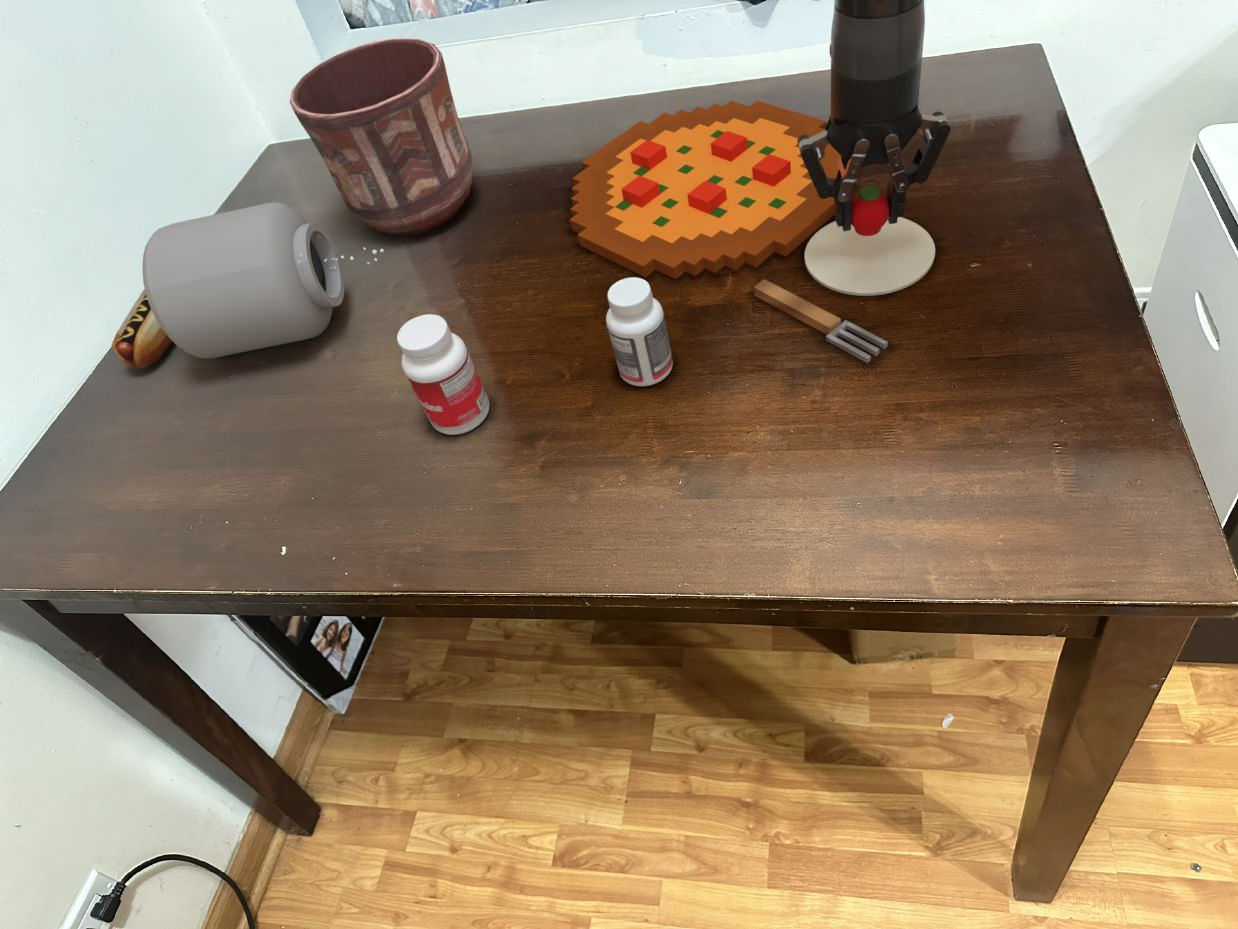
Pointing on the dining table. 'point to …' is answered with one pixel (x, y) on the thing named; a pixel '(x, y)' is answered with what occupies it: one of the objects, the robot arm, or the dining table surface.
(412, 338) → the pill bottle
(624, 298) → the pill bottle
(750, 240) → the pizza
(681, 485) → the dining table surface
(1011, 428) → the dining table surface
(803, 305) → the fork
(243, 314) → the jar
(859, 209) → the strawberry
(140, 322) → the hot dog
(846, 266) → the plate
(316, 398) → the dining table surface
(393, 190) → the pottery
